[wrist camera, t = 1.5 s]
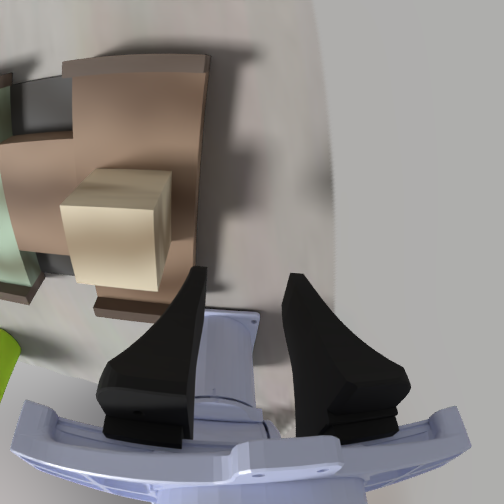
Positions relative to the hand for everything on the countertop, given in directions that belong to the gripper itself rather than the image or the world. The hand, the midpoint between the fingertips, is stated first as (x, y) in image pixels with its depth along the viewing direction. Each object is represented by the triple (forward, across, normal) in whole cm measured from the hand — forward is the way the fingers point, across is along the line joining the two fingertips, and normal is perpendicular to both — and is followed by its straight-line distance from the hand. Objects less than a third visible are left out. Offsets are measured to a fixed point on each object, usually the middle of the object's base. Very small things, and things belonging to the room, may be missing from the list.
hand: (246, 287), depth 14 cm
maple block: (+7, +7, 0) cm, 10 cm away
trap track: (+9, +15, 0) cm, 17 cm away
